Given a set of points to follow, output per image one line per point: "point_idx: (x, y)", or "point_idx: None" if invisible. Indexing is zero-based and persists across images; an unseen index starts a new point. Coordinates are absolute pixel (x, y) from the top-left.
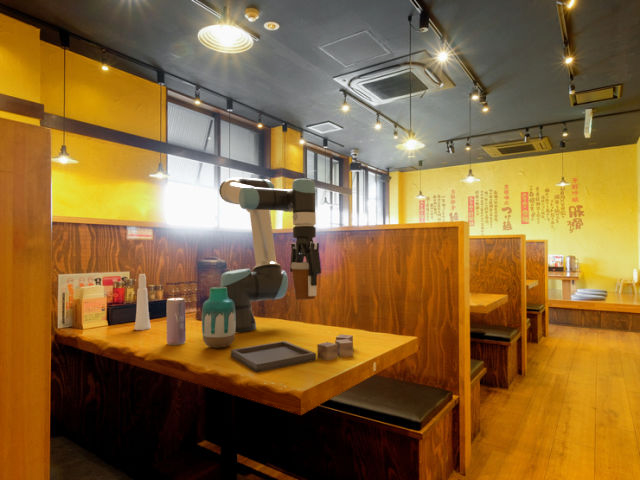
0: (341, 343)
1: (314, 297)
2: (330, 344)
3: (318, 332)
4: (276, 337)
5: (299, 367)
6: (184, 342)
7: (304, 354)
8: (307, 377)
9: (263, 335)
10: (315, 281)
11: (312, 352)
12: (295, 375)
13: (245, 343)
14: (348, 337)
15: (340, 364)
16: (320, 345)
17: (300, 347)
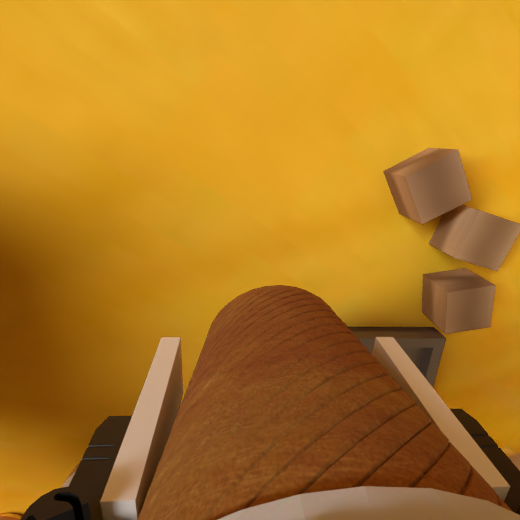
0: (499, 266)
1: (331, 309)
2: (479, 303)
3: (102, 75)
4: (95, 283)
5: (444, 384)
6: (16, 514)
7: (431, 367)
8: (508, 402)
9: (31, 305)
10: (490, 453)
11: (433, 341)
12: (478, 413)
13: (125, 396)
14: (465, 188)
15: (511, 297)
16: (458, 330)
17: (363, 340)
